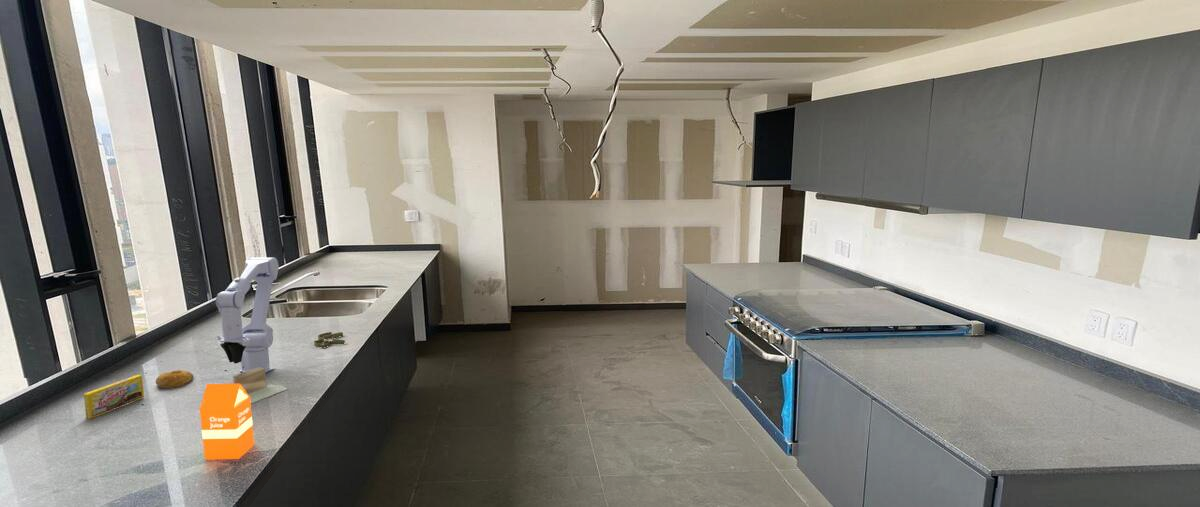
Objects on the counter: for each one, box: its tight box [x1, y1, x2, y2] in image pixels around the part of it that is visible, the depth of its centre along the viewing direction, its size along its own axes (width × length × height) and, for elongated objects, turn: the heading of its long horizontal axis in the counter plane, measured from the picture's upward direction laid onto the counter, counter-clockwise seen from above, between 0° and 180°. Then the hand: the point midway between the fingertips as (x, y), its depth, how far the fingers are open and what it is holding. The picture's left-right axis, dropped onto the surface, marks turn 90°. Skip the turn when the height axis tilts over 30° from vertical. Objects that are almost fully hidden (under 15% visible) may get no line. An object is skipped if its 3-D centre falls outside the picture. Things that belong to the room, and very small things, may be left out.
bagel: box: [155, 369, 194, 389], centre depth 191 cm, size 10×11×5 cm
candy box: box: [83, 374, 145, 419], centre depth 171 cm, size 16×2×8 cm, turn 168°
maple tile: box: [232, 367, 267, 394], centre depth 186 cm, size 3×9×7 cm, turn 156°
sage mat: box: [248, 384, 288, 405], centre depth 184 cm, size 8×13×1 cm, turn 156°
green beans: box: [313, 331, 346, 349], centre depth 239 cm, size 18×12×2 cm, turn 28°
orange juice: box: [199, 383, 255, 460], centre depth 146 cm, size 8×9×20 cm
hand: (235, 362), depth 187 cm, fingers closed
